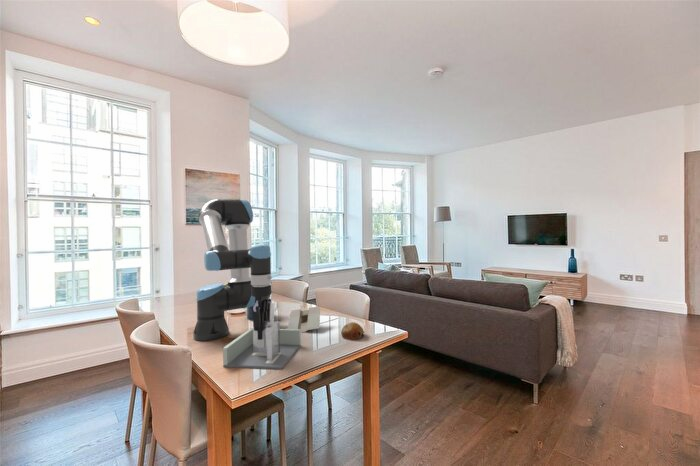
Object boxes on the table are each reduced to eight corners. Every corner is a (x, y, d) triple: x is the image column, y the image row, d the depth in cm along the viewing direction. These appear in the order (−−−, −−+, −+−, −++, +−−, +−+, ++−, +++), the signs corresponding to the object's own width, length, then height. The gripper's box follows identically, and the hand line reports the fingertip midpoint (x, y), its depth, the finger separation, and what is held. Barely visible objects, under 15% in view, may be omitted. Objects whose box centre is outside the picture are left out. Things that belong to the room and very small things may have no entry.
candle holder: (264, 330, 149) (263, 305, 149) (250, 327, 154) (250, 303, 154) (279, 324, 157) (278, 301, 157) (265, 322, 162) (265, 299, 162)
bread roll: (356, 339, 144) (350, 322, 146) (370, 334, 137) (364, 317, 140) (340, 345, 137) (335, 327, 139) (355, 340, 130) (349, 322, 133)
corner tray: (223, 366, 109) (222, 348, 109) (251, 343, 131) (250, 328, 131) (282, 369, 106) (281, 350, 106) (300, 345, 128) (300, 329, 128)
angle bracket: (280, 351, 118) (279, 320, 118) (272, 360, 110) (271, 327, 110) (255, 350, 119) (254, 320, 119) (245, 359, 111) (245, 327, 111)
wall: (324, 337, 149) (324, 310, 160) (320, 327, 143) (320, 301, 154) (291, 342, 150) (293, 315, 161) (286, 333, 144) (288, 306, 155)
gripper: (262, 289, 110) (264, 354, 110) (277, 281, 125) (278, 339, 125) (242, 288, 111) (244, 353, 111) (260, 281, 126) (261, 338, 126)
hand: (262, 345), depth 118 cm, fingers closed on angle bracket, 2 cm apart
